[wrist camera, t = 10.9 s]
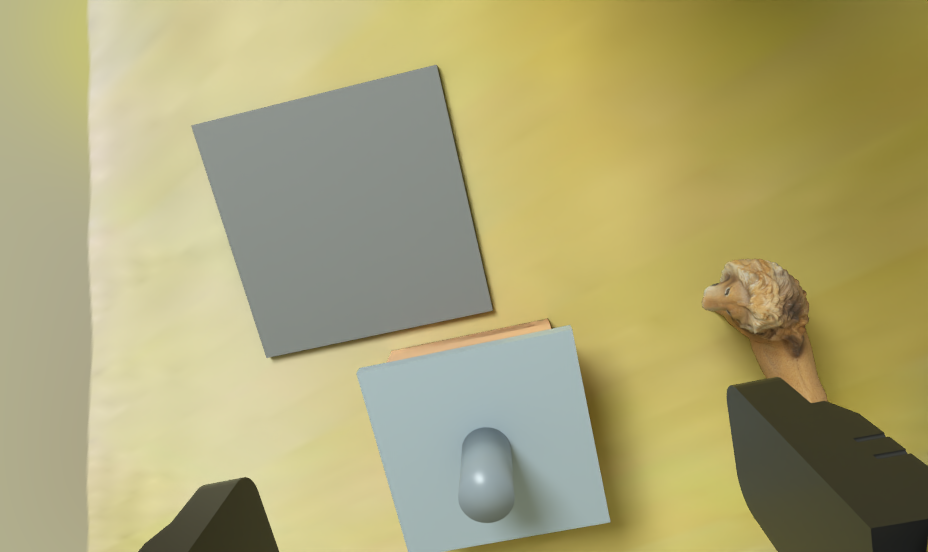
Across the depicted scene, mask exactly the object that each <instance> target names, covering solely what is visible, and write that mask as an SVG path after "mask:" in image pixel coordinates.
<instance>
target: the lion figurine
mask: <svg viewBox="0 0 928 552" xmlns="http://www.w3.org/2000/svg"><path fill="white" fill-rule="evenodd" d="M724 268H725V269H724V270H722V276H721V279H720V283H716V284H714V285H711V286H709V287H707V288H706V289H705V291H704V297H703V300H702V306H703V308H704V309H705V310H709V311H715V312H717V313H719V314H721V315H723V316H724V317H725V319H726V320H727V321H728V323H729V324H730V325H732V326H733V327H735V328H736V329H738V330H739V331H740V332H741V333H742V334H744V335H745V336H747V337H748V338H750V342H751V346H752V349H753V352H754V354H755V356H756V359H757V361H758V363H759V365H760V368H761V370H762V372H763V373H764V375H765V376H766V378H767V379H768V378H773V377H780V378H782V379H783V380H784V381H785V382H787V383H788V384H789V385H790V386H791V387H793V388H794V389H795V390H796V391H797V392H798V393H800V394H801V395H802V396H803V397H804V398H806V399H807V400H808V401H809V402H810V403H815V402H820V401H827V396H826V393H825V391H824V389H823V387H822V385H821V383H820V380H819V377H818V374H817V371H816V366H815V361H814V357H813V352H812V348H811V344H810V341H809V338H808V335H807V332H806V329H805V325H806V324H807V323H808V322H809V317H808V312H809V303H808V301H807V299H806V292H805V291H804V290H802V288H801V286H800V285H799V281H798V280H797V279H794V277H793V276H791V275H789V274H788V271H787V270H785V269H782V267H780V266H779V265H778V264H777V263H774V262H770V261H767V260H766V261H764V260H762V259H745V260H744V259H741V260H733V261H730V262H728V263H727V264H726V265H725V267H724ZM827 402H828V401H827Z"/></svg>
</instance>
